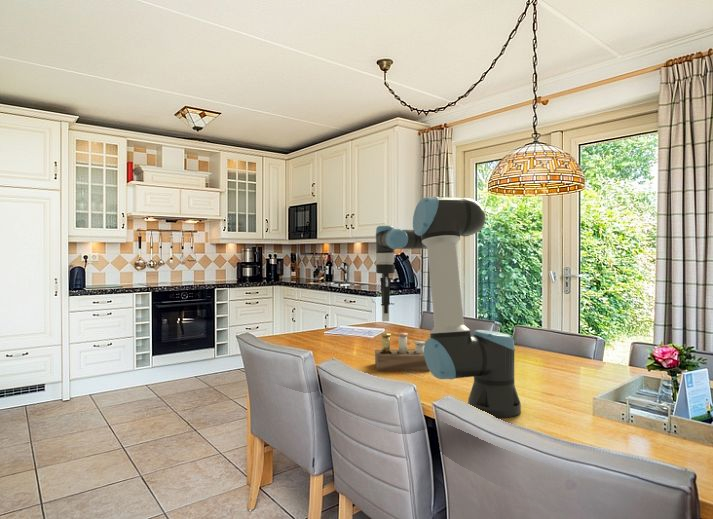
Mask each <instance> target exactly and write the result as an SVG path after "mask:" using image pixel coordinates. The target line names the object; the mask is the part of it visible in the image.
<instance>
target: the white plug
mask: <svg viewBox="0 0 713 519" xmlns="http://www.w3.org/2000/svg"><path fill="white" fill-rule="evenodd" d="M397 336H398V349H399V354H407V349H408V336H409V333H408V332H397Z"/></svg>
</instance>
